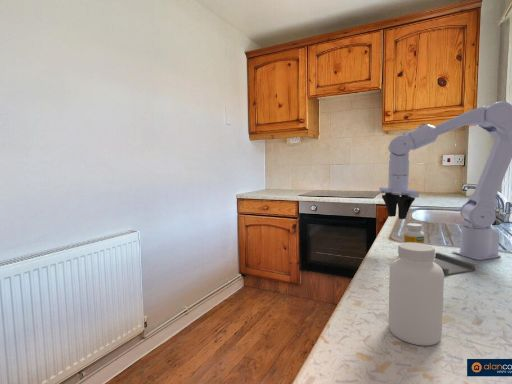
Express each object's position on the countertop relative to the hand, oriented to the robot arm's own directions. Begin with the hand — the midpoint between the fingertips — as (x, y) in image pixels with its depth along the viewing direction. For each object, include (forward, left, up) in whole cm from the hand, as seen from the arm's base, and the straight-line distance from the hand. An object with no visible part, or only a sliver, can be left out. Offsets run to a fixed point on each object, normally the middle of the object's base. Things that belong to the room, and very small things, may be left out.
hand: (397, 217), depth 96 cm
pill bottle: (+32, +39, -11) cm, 52 cm away
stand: (0, +17, -10) cm, 20 cm away
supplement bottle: (0, +7, -11) cm, 13 cm away
